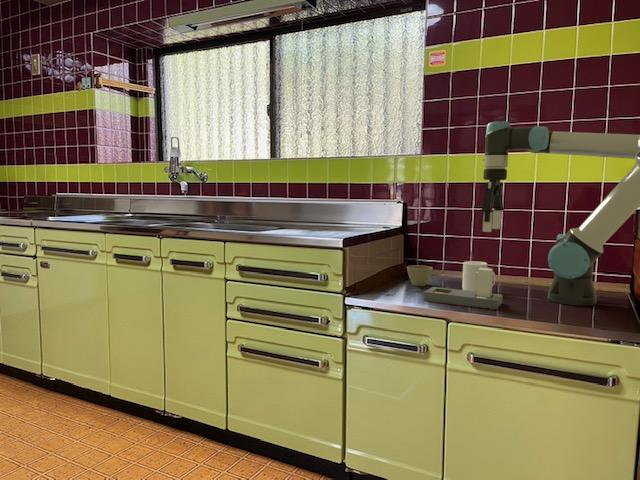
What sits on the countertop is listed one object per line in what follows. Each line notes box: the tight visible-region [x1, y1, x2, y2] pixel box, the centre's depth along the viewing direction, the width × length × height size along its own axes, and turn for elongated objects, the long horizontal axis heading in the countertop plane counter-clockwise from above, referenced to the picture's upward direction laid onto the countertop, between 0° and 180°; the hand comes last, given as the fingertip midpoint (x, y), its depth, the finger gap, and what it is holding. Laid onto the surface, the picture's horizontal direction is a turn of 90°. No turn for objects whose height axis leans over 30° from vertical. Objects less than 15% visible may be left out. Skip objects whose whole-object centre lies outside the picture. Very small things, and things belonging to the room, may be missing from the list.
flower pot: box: [406, 265, 434, 287], centre depth 194 cm, size 10×10×7 cm
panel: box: [423, 286, 504, 310], centre depth 166 cm, size 24×10×3 cm, turn 60°
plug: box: [475, 267, 494, 298], centre depth 162 cm, size 5×4×12 cm
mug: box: [461, 260, 497, 292], centre depth 182 cm, size 9×12×11 cm
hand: (491, 230), depth 169 cm, fingers open, 13 cm apart
